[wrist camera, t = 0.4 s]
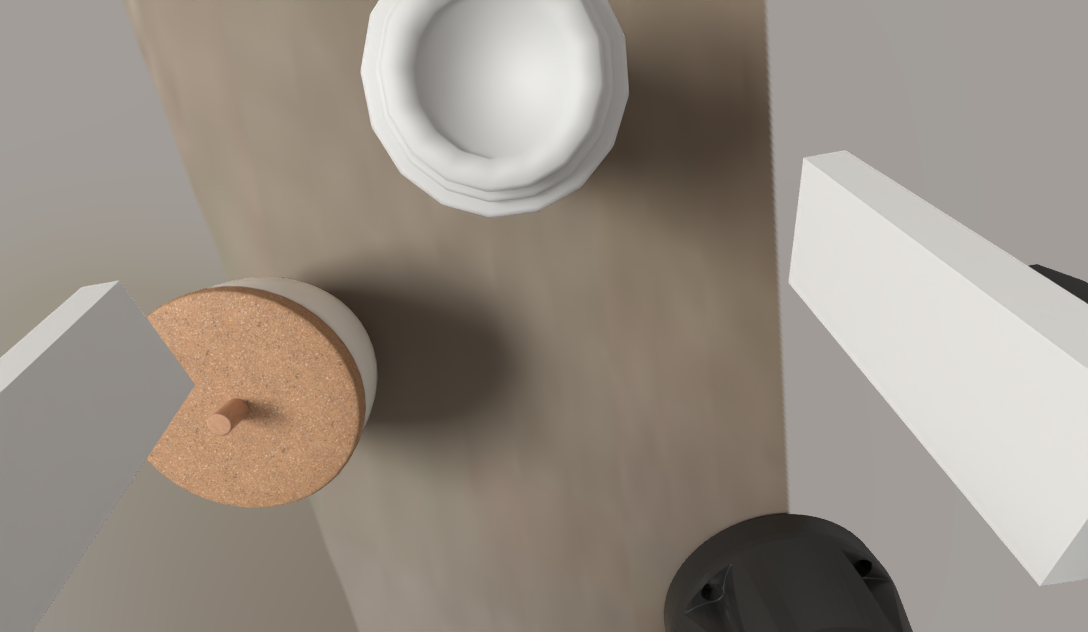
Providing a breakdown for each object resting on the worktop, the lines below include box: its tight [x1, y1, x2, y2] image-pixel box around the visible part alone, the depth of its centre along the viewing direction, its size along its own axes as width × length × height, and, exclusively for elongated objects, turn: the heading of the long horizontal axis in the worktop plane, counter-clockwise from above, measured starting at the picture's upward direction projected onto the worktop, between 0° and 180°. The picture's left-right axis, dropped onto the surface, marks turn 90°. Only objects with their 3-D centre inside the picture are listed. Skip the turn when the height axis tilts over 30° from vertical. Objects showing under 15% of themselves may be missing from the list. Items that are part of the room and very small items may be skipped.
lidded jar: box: [147, 277, 377, 507], centre depth 27 cm, size 11×11×9 cm
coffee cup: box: [361, 0, 629, 218], centre depth 23 cm, size 9×9×12 cm
